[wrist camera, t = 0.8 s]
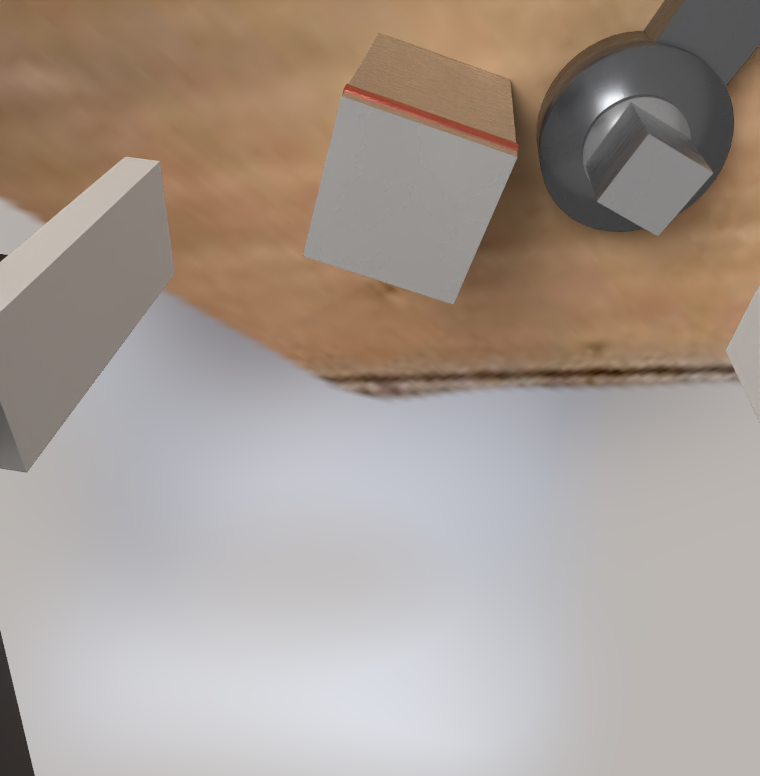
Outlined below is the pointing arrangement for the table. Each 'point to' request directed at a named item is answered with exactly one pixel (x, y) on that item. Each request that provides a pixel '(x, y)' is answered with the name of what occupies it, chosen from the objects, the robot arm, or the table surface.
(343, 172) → the red-striped grey block
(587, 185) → the ratchet
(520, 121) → the table surface
